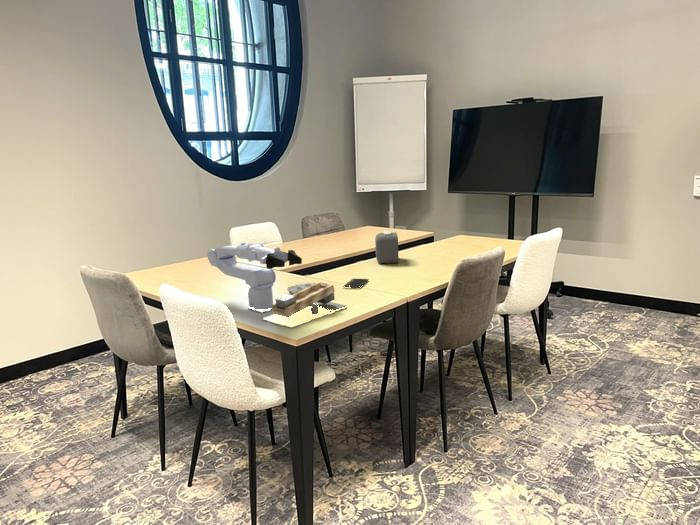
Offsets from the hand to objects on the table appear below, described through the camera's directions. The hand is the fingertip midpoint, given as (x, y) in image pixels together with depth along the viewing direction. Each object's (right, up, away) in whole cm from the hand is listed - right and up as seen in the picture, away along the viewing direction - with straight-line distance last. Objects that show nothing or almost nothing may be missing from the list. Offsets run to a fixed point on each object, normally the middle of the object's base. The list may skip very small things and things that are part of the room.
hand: (292, 262), depth 185 cm
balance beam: (+4, -18, +10) cm, 20 cm away
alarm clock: (+40, 0, +95) cm, 103 cm away
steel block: (-2, -16, +3) cm, 17 cm away
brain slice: (+2, -14, +37) cm, 40 cm away
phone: (+23, -10, +49) cm, 55 cm away
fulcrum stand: (+4, -19, +10) cm, 22 cm away
